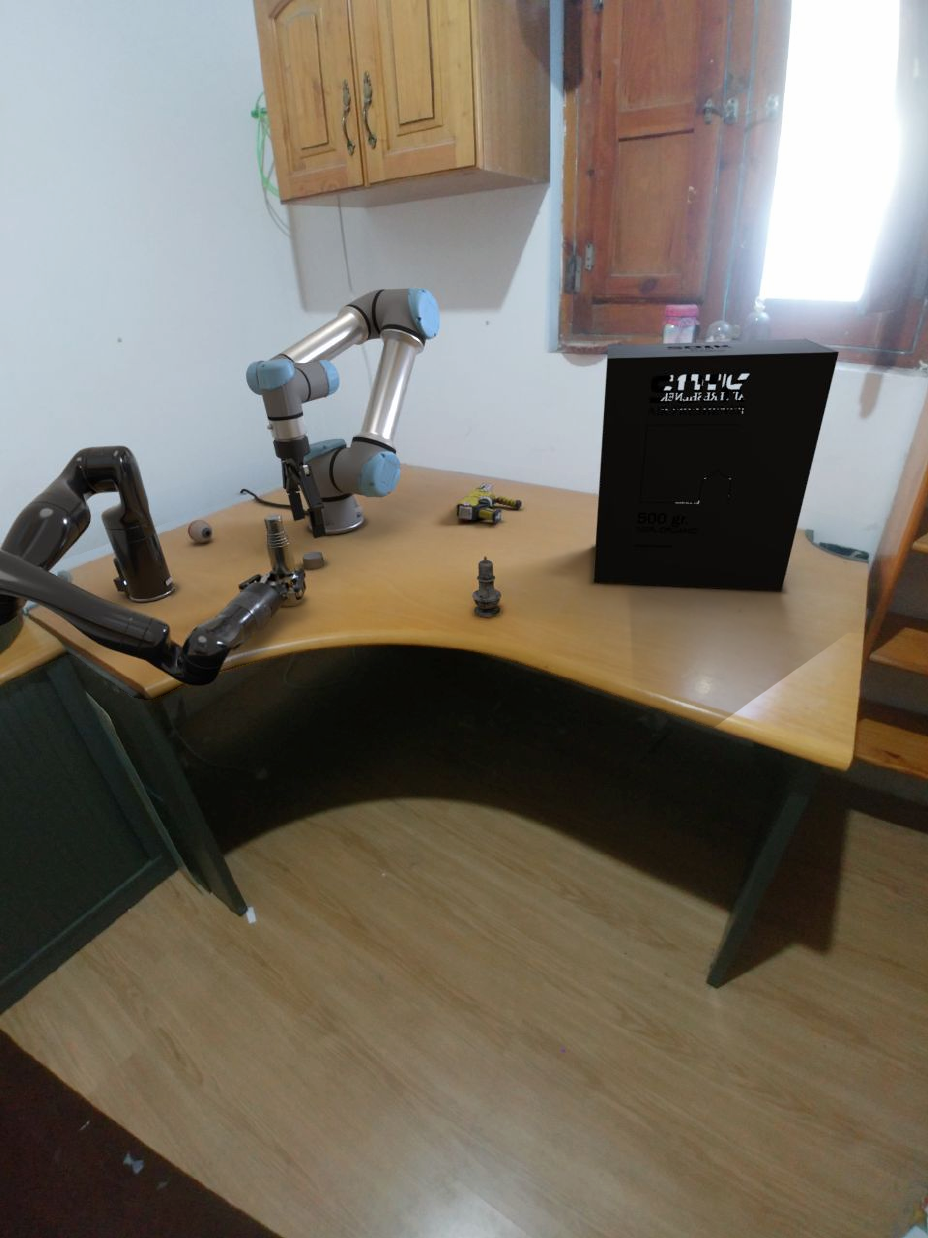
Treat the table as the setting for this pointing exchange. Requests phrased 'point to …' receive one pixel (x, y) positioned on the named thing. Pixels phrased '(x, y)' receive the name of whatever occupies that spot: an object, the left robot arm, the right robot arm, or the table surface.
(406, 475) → the table surface
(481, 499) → the toy gun
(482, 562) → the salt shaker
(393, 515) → the table surface
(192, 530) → the eyeball
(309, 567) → the cap
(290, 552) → the bottle
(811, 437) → the cardboard box
